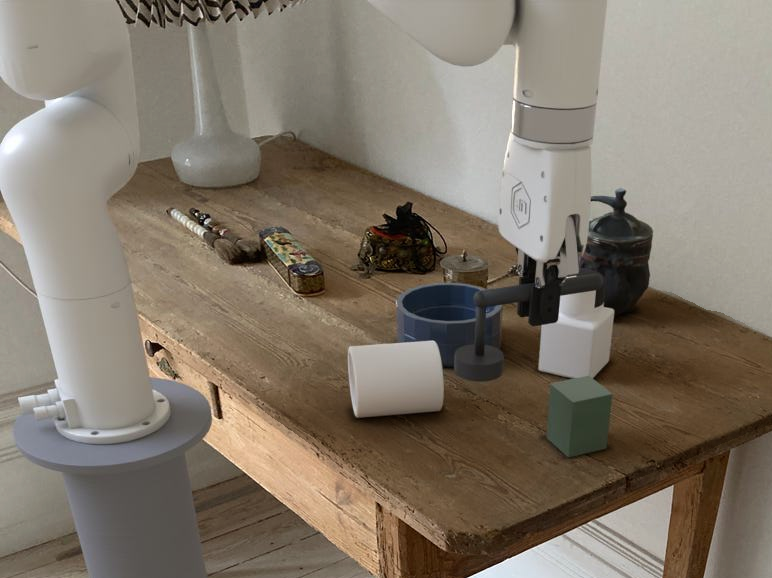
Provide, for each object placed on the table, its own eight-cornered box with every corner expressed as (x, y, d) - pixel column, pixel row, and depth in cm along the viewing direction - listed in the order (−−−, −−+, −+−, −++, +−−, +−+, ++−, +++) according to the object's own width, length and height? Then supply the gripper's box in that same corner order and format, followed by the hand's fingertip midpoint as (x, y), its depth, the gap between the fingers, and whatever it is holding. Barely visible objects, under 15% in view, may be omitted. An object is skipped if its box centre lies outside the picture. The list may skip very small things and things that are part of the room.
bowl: (423, 376, 129) (422, 330, 125) (381, 335, 138) (380, 291, 134) (518, 357, 133) (521, 312, 130) (472, 319, 143) (473, 276, 139)
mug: (444, 423, 119) (444, 357, 114) (358, 430, 117) (354, 364, 112) (425, 378, 128) (424, 316, 123) (345, 384, 126) (341, 321, 121)
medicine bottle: (558, 350, 135) (565, 259, 128) (609, 362, 133) (619, 269, 125) (537, 371, 130) (543, 277, 123) (589, 383, 128) (598, 288, 120)
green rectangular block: (568, 457, 114) (573, 402, 109) (546, 437, 117) (550, 383, 113) (606, 448, 115) (612, 393, 111) (583, 429, 119) (588, 375, 115)
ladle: (467, 385, 103) (470, 303, 97) (446, 365, 106) (447, 285, 101) (605, 359, 109) (615, 282, 103) (581, 341, 112) (590, 265, 107)
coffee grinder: (530, 303, 148) (537, 170, 136) (620, 290, 152) (635, 161, 141) (569, 337, 139) (581, 198, 127) (664, 323, 143) (683, 187, 132)
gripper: (477, 104, 97) (470, 296, 109) (560, 148, 86) (542, 355, 98) (546, 99, 100) (532, 287, 111) (635, 141, 89) (609, 343, 101)
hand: (537, 317), depth 105 cm, fingers closed on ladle
